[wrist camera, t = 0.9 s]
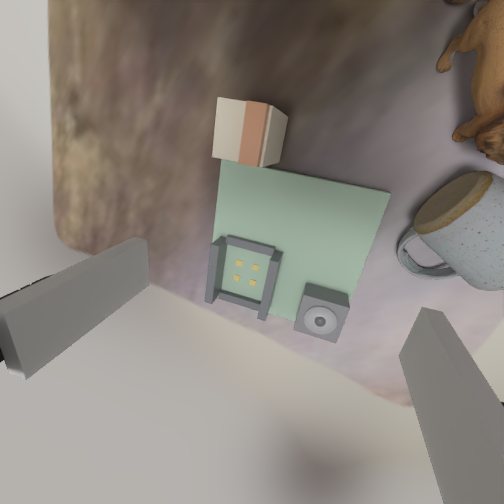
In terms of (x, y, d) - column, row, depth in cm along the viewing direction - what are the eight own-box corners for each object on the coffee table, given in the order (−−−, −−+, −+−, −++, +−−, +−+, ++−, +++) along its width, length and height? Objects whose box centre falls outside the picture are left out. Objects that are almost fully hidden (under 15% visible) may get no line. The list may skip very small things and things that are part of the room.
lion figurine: (535, 149, 23) (647, 149, 15) (463, 179, 25) (527, 194, 17) (480, -31, 20) (582, -153, 12) (405, 21, 22) (448, -52, 14)
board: (225, 158, 30) (221, 159, 29) (388, 192, 27) (391, 193, 26) (210, 290, 37) (206, 294, 36) (337, 328, 34) (337, 334, 33)
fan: (306, 282, 32) (303, 297, 28) (348, 294, 31) (349, 310, 28) (296, 315, 34) (292, 332, 31) (335, 327, 33) (336, 346, 30)
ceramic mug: (463, 160, 24) (513, 167, 17) (531, 215, 24) (608, 243, 18) (375, 241, 29) (387, 271, 22) (432, 287, 29) (461, 330, 22)
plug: (247, 110, 28) (213, 95, 20) (288, 116, 27) (270, 104, 19) (240, 154, 30) (207, 157, 22) (279, 162, 29) (259, 167, 21)
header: (221, 232, 32) (211, 240, 30) (284, 248, 31) (279, 258, 28) (213, 293, 36) (204, 305, 33) (269, 310, 35) (264, 324, 32)
